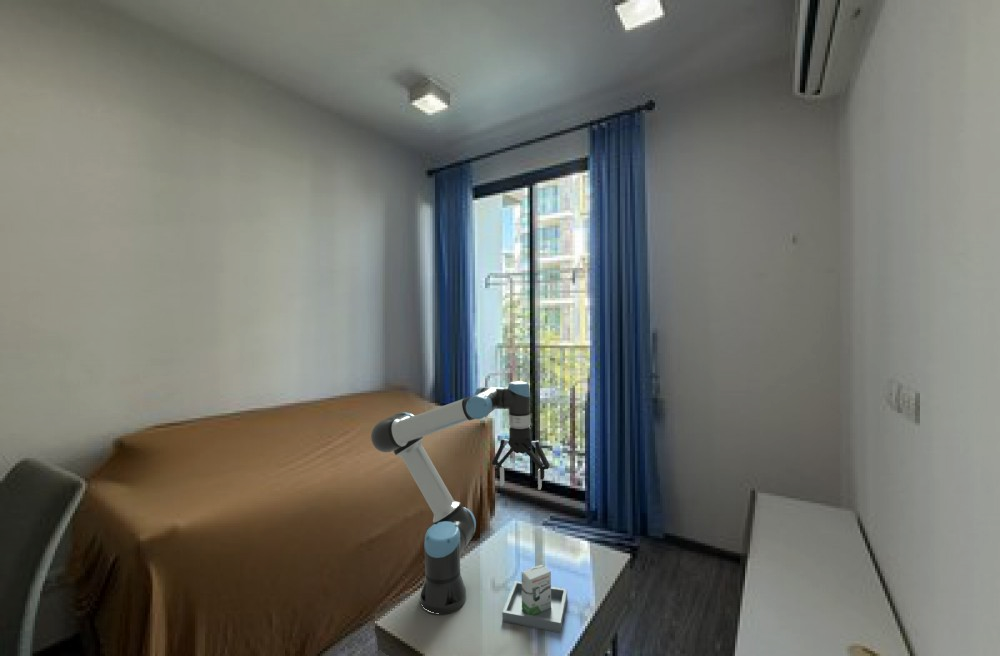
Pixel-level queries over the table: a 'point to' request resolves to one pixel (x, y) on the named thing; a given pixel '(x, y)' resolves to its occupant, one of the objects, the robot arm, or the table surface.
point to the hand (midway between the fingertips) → (520, 486)
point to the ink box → (536, 589)
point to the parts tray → (543, 620)
